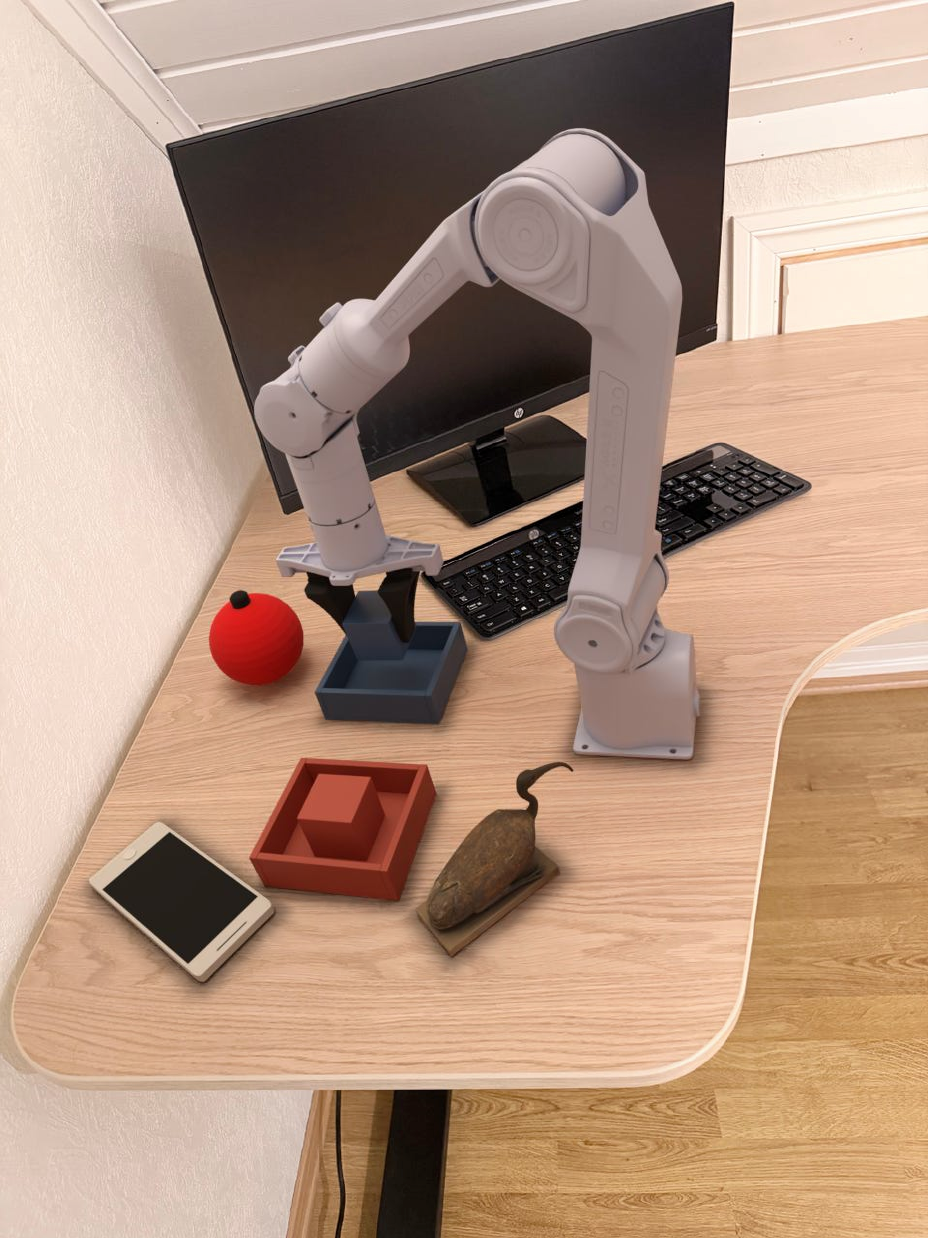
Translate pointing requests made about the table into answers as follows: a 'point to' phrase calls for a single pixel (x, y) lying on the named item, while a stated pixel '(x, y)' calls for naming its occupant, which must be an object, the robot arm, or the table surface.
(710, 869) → the table surface
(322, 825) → the red block
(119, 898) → the smartphone
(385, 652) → the blue block
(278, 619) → the ornament
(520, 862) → the figurine
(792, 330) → the table surface
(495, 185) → the robot arm
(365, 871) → the red bin
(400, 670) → the blue bin
